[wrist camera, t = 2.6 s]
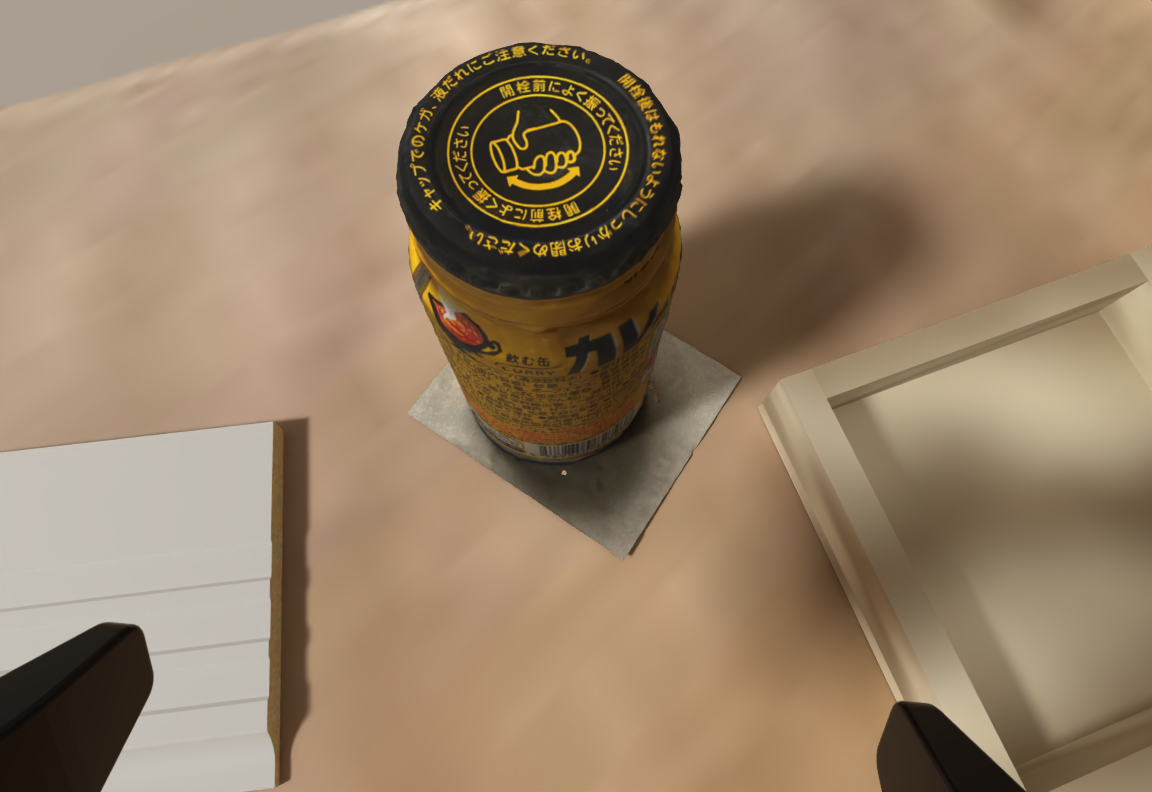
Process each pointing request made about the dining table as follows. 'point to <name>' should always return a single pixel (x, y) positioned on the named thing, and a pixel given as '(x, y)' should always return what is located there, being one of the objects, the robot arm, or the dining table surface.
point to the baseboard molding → (160, 588)
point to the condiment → (556, 282)
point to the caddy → (1000, 518)
